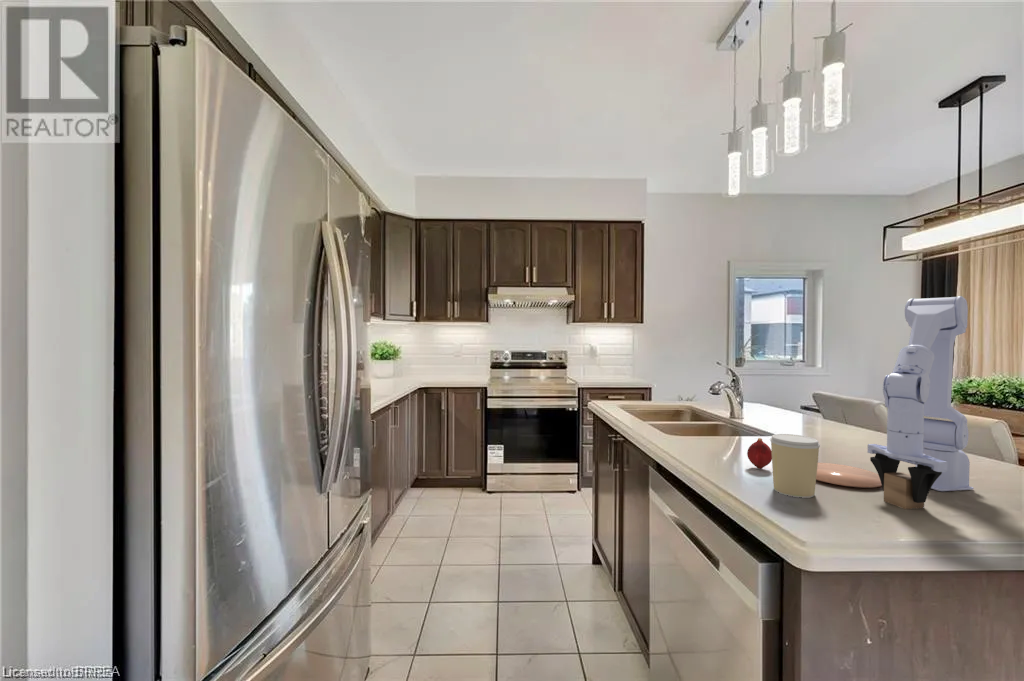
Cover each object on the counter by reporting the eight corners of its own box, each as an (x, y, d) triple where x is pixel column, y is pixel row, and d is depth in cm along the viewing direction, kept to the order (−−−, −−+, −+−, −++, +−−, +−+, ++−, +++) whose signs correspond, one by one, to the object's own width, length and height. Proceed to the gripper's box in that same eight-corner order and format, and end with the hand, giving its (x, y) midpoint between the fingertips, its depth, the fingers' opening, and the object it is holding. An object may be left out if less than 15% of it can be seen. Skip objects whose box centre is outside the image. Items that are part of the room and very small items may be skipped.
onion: (775, 472, 115) (776, 441, 115) (751, 471, 116) (751, 440, 116) (767, 466, 121) (768, 436, 121) (744, 464, 122) (744, 435, 122)
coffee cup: (814, 488, 103) (815, 436, 103) (823, 502, 95) (824, 444, 95) (767, 482, 107) (768, 432, 107) (771, 495, 99) (772, 440, 98)
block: (901, 500, 96) (902, 472, 96) (924, 508, 92) (924, 478, 92) (883, 501, 96) (884, 473, 96) (905, 509, 91) (906, 479, 91)
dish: (838, 467, 121) (838, 461, 121) (903, 488, 104) (904, 481, 104) (782, 469, 118) (782, 463, 118) (840, 491, 101) (840, 485, 101)
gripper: (856, 424, 100) (855, 485, 100) (926, 439, 86) (925, 510, 86) (883, 424, 101) (881, 484, 102) (956, 438, 87) (955, 508, 87)
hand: (903, 496), depth 94 cm, fingers open, 6 cm apart
